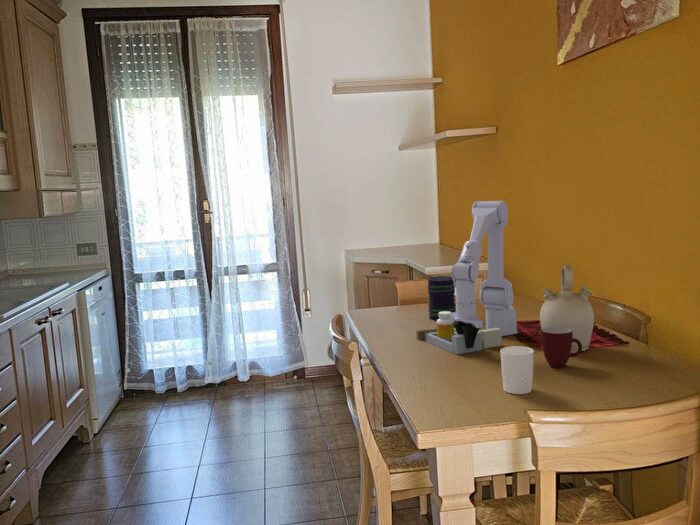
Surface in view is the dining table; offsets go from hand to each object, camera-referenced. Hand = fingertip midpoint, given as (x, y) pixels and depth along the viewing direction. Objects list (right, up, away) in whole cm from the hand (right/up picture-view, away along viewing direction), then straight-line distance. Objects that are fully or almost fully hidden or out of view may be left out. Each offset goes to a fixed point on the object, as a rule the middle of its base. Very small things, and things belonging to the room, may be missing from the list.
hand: (467, 346), depth 197 cm
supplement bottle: (-5, 0, +11) cm, 12 cm away
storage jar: (-1, +4, +45) cm, 45 cm away
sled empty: (+5, 0, +12) cm, 13 cm away
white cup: (+6, -6, -36) cm, 37 cm away
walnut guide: (-1, 0, +11) cm, 11 cm away
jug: (+29, 0, -1) cm, 29 cm away
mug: (+22, -3, -18) cm, 29 cm away
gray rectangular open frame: (-3, -1, +8) cm, 9 cm away
